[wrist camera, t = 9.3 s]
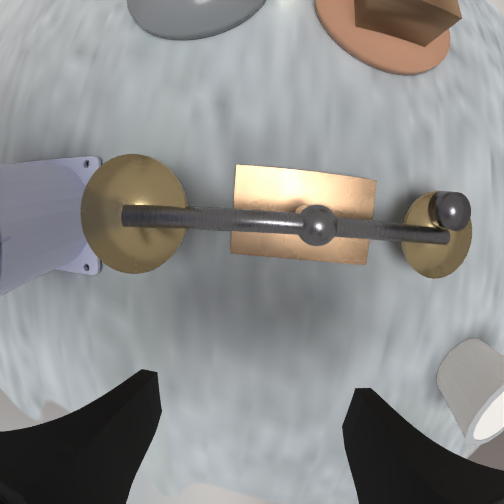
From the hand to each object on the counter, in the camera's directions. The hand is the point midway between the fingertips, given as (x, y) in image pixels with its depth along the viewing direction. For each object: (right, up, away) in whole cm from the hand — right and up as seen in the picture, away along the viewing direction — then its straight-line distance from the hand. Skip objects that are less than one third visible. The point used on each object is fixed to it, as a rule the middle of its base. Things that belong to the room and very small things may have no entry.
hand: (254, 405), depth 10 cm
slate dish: (-4, +24, +5) cm, 25 cm away
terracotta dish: (+9, +22, +4) cm, 24 cm away
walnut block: (+9, +22, +3) cm, 24 cm away
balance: (+3, +8, +8) cm, 11 cm away
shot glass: (+18, -4, +10) cm, 21 cm away
